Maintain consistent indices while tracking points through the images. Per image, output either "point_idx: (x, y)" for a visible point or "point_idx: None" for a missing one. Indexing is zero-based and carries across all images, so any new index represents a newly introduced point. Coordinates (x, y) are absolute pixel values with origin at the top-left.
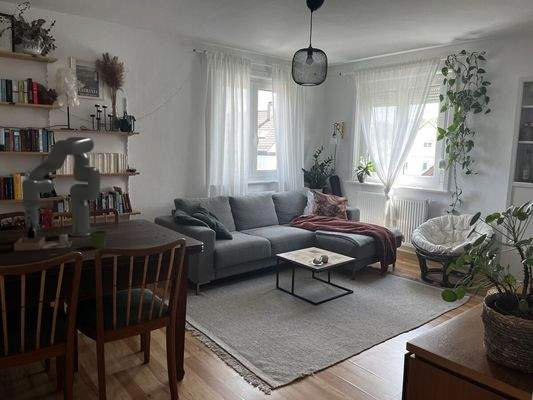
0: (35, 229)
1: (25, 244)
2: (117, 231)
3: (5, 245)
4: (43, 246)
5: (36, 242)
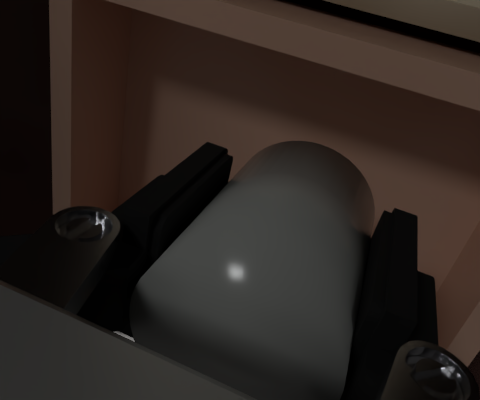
0: (303, 277)
1: None
2: None
3: None
4: (468, 8)
5: (119, 80)
